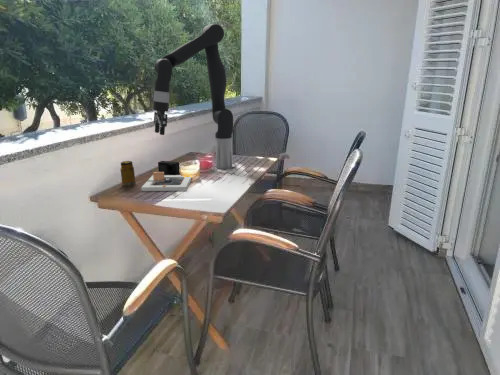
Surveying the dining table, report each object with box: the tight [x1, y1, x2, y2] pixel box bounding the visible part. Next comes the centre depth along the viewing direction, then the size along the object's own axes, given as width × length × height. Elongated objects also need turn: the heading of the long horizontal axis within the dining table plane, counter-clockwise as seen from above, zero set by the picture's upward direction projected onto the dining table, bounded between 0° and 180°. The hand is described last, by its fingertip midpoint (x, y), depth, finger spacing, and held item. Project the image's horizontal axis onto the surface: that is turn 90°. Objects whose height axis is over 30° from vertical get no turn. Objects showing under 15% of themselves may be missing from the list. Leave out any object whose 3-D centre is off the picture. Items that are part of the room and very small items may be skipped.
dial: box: [152, 171, 181, 185], centre depth 168 cm, size 12×11×6 cm
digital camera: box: [157, 160, 180, 175], centre depth 187 cm, size 10×5×7 cm, turn 71°
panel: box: [141, 174, 192, 192], centre depth 169 cm, size 20×20×3 cm
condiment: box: [120, 160, 136, 188], centre depth 167 cm, size 7×8×12 cm
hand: (159, 133), depth 179 cm, fingers open, 8 cm apart
